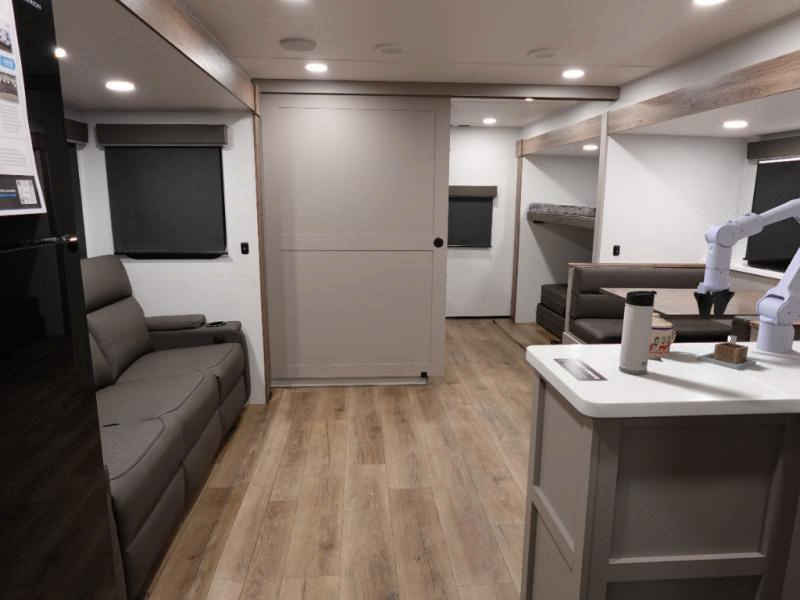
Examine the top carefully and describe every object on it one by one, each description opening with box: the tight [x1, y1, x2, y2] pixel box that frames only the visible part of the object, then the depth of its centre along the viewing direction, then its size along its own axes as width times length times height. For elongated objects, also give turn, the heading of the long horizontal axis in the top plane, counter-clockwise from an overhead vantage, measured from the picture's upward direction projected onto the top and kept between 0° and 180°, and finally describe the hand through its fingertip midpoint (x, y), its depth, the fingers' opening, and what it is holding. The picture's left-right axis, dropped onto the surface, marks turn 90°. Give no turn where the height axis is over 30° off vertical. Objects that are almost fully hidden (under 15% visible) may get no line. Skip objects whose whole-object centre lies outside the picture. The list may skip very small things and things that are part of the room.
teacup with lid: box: [648, 312, 677, 361], centre depth 146 cm, size 12×9×12 cm
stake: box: [726, 334, 737, 344], centre depth 145 cm, size 6×6×6 cm
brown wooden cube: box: [712, 341, 749, 365], centre depth 137 cm, size 5×5×5 cm
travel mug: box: [618, 290, 658, 376], centre depth 130 cm, size 6×7×20 cm
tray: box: [697, 351, 757, 371], centre depth 138 cm, size 10×10×2 cm
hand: (711, 317), depth 150 cm, fingers open, 7 cm apart
